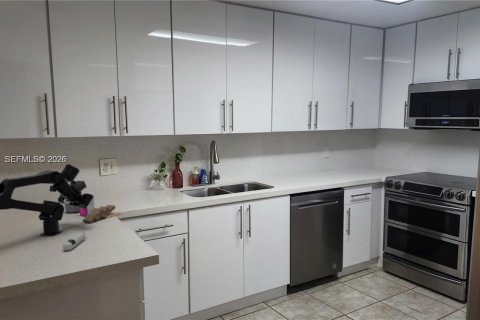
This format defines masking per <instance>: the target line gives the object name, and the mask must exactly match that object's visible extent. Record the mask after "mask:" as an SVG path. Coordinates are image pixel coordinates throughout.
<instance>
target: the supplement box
mask: <svg viewBox="0 0 480 320" xmlns="http://www.w3.org/2000/svg"><path fill="white" fill-rule="evenodd" d="M88 194H92V195H93V199H92V200H91V202H90V203H89V205H88V206H87V208H86V209H83V208H80V212H79V216H82V217H84V218H85V217H86V216H87V215H88V214H89V213H90V212H91V211H92V210H94V209H95V208H96V207H95V198H94V197H95V195H94V193H90V192H88Z"/></svg>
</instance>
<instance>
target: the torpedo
mask: <svg viewBox="0 0 480 320" xmlns="http://www.w3.org/2000/svg"><path fill="white" fill-rule="evenodd" d="M81 226H82V225H79V227H80V229H79V230H80V231H79V232H78V233H76V234H75V235H74V236H72V237H71V238H69V239H68V240H67V242H64V243H63V245H62V248H63V250H64V251H66V252H68V251H71V250H73V249H74V248H76V247H77V246H78V245H79V244H80V243H82V242H83V241H84V240H85V238H87V233H85V231H83V232H82V231H81V230H82V229H81Z"/></svg>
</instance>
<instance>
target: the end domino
mask: <svg viewBox="0 0 480 320" xmlns="http://www.w3.org/2000/svg"><path fill="white" fill-rule="evenodd" d="M119 215H122V212H120V211H112V212H111V213H110V214H109V215H107V216H106V217H105V218H104V219H106V218H108V219H111V218H113V217H117V216H119Z"/></svg>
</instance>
